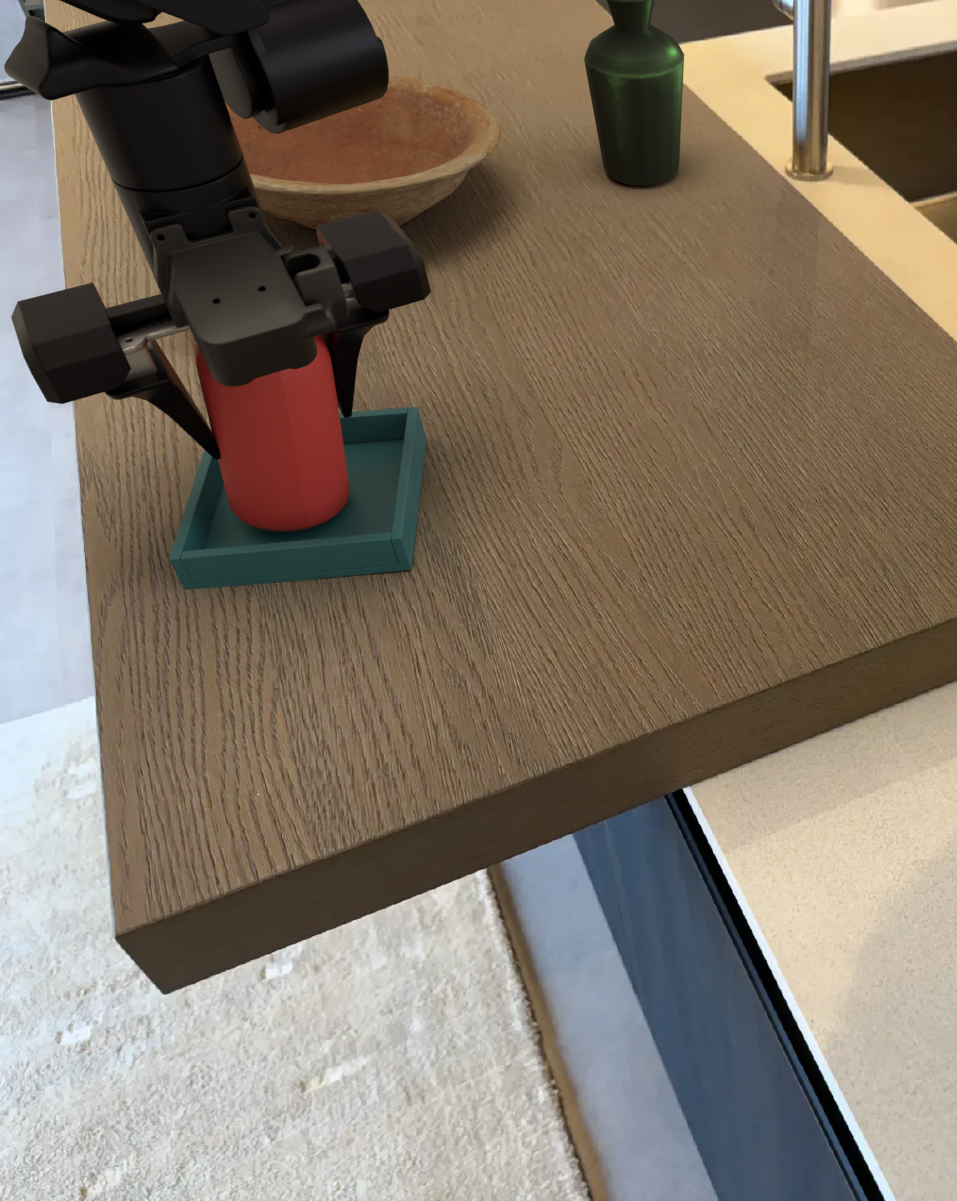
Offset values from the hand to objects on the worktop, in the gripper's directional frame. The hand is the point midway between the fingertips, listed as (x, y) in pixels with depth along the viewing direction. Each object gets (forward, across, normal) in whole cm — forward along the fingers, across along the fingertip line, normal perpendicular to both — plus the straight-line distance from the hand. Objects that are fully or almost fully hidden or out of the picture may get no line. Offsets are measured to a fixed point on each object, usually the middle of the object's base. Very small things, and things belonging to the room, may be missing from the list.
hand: (283, 434), depth 63 cm
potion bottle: (+6, +37, +29) cm, 48 cm away
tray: (+6, 0, 0) cm, 6 cm away
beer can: (+5, -1, 0) cm, 5 cm away
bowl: (+6, +14, +34) cm, 38 cm away
